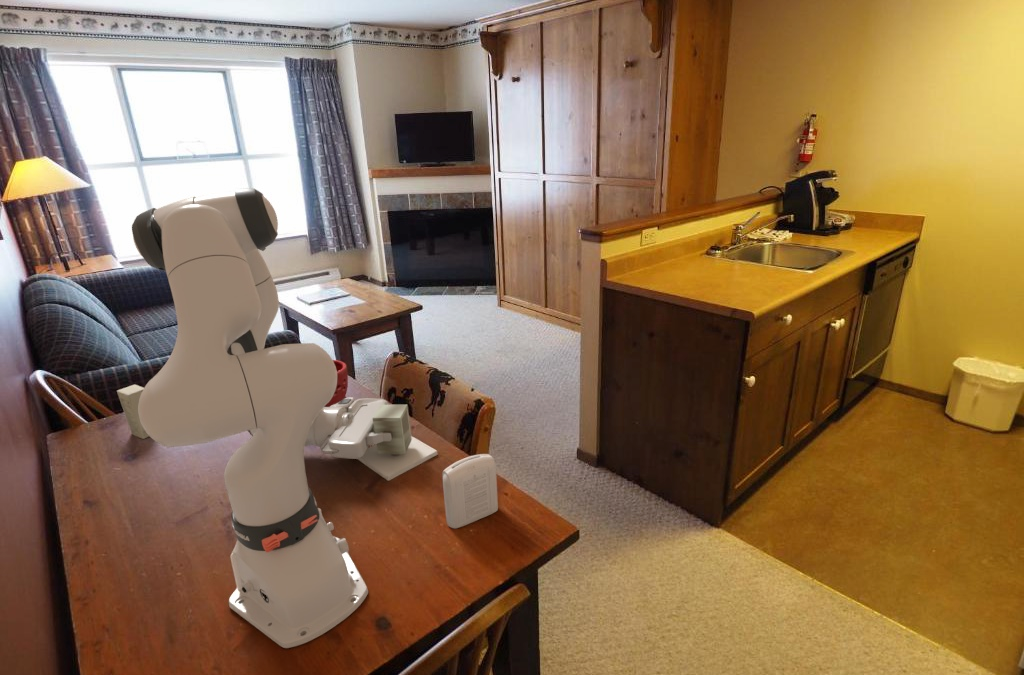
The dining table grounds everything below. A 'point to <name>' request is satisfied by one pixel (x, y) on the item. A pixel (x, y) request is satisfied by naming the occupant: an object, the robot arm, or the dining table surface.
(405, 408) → the sage recessed panel box
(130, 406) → the skincare box
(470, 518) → the photo printer
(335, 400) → the plant pot
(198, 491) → the dining table surface
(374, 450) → the post stand
